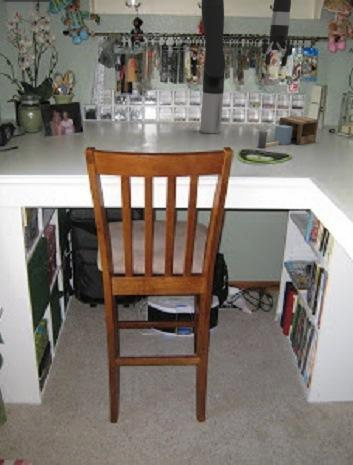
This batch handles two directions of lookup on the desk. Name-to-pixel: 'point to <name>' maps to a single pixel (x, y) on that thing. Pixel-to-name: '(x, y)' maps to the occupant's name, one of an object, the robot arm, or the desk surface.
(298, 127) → the shelf
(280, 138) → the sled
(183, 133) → the desk surface
